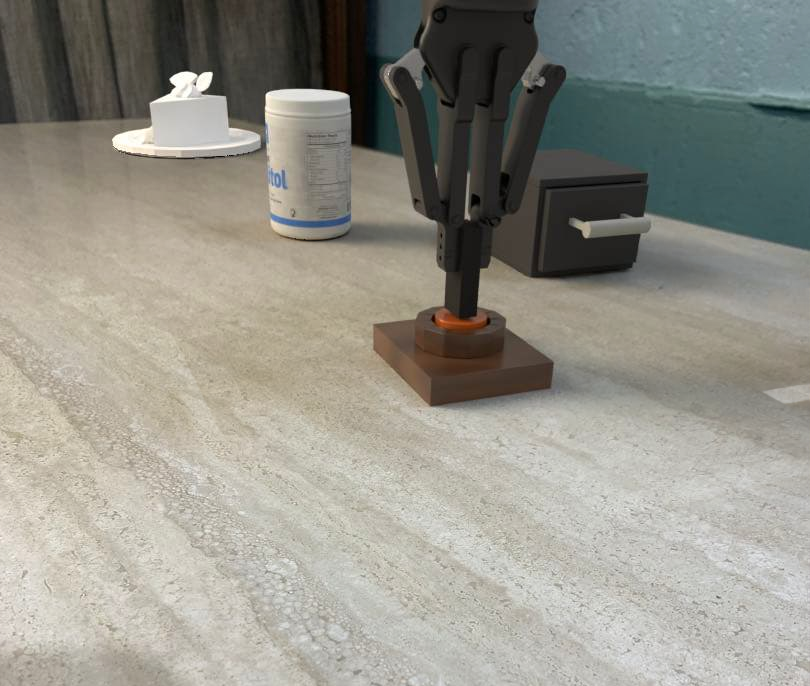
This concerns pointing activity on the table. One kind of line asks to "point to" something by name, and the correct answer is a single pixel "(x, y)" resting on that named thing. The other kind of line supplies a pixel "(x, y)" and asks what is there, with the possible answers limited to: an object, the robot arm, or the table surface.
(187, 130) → the white cake on plate
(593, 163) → the small cabinet
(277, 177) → the supplement tub
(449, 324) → the button
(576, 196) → the drawer
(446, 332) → the block
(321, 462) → the table surface
